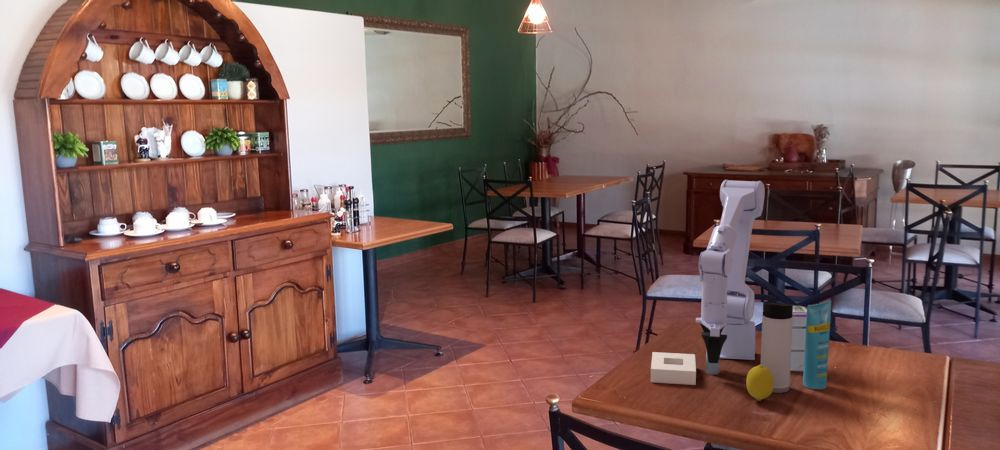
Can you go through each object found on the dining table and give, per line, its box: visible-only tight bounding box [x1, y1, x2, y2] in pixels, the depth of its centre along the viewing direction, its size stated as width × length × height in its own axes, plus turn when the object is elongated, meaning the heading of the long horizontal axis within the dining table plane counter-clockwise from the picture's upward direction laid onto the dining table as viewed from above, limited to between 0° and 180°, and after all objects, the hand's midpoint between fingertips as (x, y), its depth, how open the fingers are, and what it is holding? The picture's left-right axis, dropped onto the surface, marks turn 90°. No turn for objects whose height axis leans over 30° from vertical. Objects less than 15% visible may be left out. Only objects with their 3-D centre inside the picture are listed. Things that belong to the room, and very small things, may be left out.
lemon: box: [745, 364, 774, 402], centre depth 163 cm, size 6×6×8 cm
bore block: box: [650, 351, 697, 386], centre depth 179 cm, size 10×12×3 cm
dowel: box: [705, 348, 720, 376], centre depth 180 cm, size 3×3×7 cm
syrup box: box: [790, 305, 807, 372], centre depth 182 cm, size 6×6×14 cm
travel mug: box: [760, 301, 794, 394], centre depth 168 cm, size 6×7×20 cm
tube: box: [802, 300, 832, 390], centre depth 169 cm, size 7×5×19 cm, turn 123°
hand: (712, 357), depth 180 cm, fingers open, 7 cm apart
